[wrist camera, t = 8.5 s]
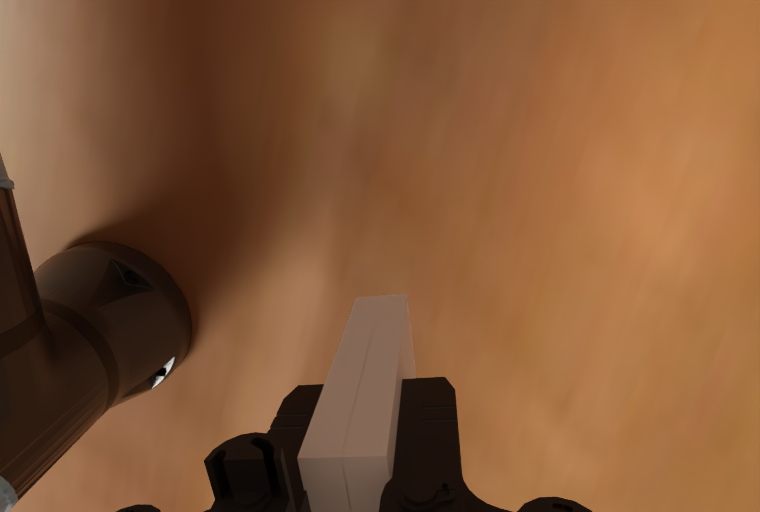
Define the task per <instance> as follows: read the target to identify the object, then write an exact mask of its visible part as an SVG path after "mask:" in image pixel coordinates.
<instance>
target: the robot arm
mask: <svg viewBox="0 0 760 512" xmlns="http://www.w3.org/2000/svg"><path fill="white" fill-rule="evenodd" d="M12 189H14V183H13V181H12V180H10V179H9V178H8V175H7V172H6V169H5V166H4V163H3V160H2V157H1V154H0V512H8V511H10V510H11V509H12V508H13V506H14V505H15V504H16V503H17V502H18V501H19V499H20V498H21V497H22V496H23V495H24V494H25V493H26V492H27V491H28V490H29V489H30V488H31V487H32V486H33V485H34V484H35V483H36V482H37V481H38V480H39V479H40V478H41V477H42V476H43V475H44V474H45V473H46V472H47V471H48V470H49V469H50V468H51V467H52V466H53V465H54V464H55V463H56V462H57V461H58V460H59V459H60V458H61V457H62V456H63V455H64V454H65V453H66V452H67V451H68V450H69V449H70V448H71V447H72V445H73V444H74V443H75V442H76V441H77V440H78V439H79V438H80V437H81V436H82V435H83V434H84V433H85V432H86V431H87V430H88V429H89V428H90V427H91V426H92V425H93V424H94V423H95V422H96V421H97V420H98V419H99V418H100V417H101V416H102V415H103V414H104V413H105V412H106V411H107V410H108V409H110V408H112V407H114V406H116V405H118V404H120V403H123V402H125V401H127V400H129V399H131V398H134V397H136V396H138V395H140V394H142V393H144V392H147V391H149V390H151V389H153V388H154V387H156V386H157V385H159V384H160V383H162V382H163V381H164V380H165V379H166V378H167V377H168V376H169V375H170V374H171V373H172V372H173V371H174V370H175V369H176V368H177V367H178V365H179V364H180V363H181V362H182V360H183V359H184V357H185V355H186V353H187V351H188V348H189V345H190V340H191V318H190V314H189V310H188V307H187V304H186V301H185V299H184V297H183V295H182V293H181V291H180V290H179V288H178V286H177V285H176V284H175V282H174V281H173V280H172V278H171V277H170V276H169V275H168V274H167V273H166V272H165V271H164V270H163V269H162V268H161V267H160V266H159V265H158V264H156V263H155V262H154V261H152V260H151V259H150V258H148V257H147V256H145V255H143V254H141V253H140V252H138V251H135V250H133V249H131V248H128V247H125V246H122V245H119V244H114V243H108V242H90V243H84V244H80V245H77V246H74V247H72V248H70V249H67V250H65V251H63V252H61V253H58V254H56V255H54V256H52V257H51V258H49V259H48V260H46V261H45V262H44V263H43V264H41V265H40V266H39V267H38V268H37V269H36V271H35V272H34V273H33V270H32V266H31V262H30V258H29V254H28V251H27V247H26V243H25V239H24V235H23V232H22V228H21V224H20V220H19V217H18V213H17V209H16V204H15V200H14V196H13V192H12ZM204 463H205V466H206V470H207V473H208V477H209V480H210V483H211V487H212V490H213V494H214V497H215V501H214V503H213V505H212V507H211V509H209V510H206V511H204V512H511V511H508V510H504V509H500V508H497V507H495V506H492V505H489V504H487V503H485V502H484V501H482V500H481V499H479V498H477V497H476V496H475V495H474V494H473V493H472V492H471V491H470V490H469V489H468V487H467V485H466V484H465V482H464V480H463V476H462V467H461V455H460V442H459V430H458V419H457V407H456V395H455V389H454V388H453V387H452V385H451V384H450V383H449V381H448V380H447V379H446V378H445V377H433V378H416V370H415V361H414V353H413V344H412V335H411V326H410V318H409V309H408V300H407V294H396V295H383V296H369V297H356V300H355V302H354V305H353V308H352V310H351V313H350V316H349V319H348V321H347V324H346V327H345V329H344V332H343V335H342V338H341V340H340V343H339V346H338V348H337V351H336V354H335V357H334V359H333V362H332V365H331V368H330V370H329V373H328V376H327V378H326V381H325V384H319V385H298V386H297V387H296V388H295V389H294V390H293V391H292V392H291V393H290V394H289V395H287V396H286V397H285V398H284V399H283V402H282V404H281V406H280V408H279V410H278V412H277V416H276V417H275V418H274V420H273V422H272V424H271V426H270V430H269V431H268V433H267V434H266V433H257V432H255V433H249V434H243V435H239V436H237V437H234V438H232V439H229V440H227V441H225V442H224V443H222V444H221V445H219V446H218V447H216V448H215V449H214V450H213V451H212V452H211V453H210V454H209V455H208V456H207V458H206V459H205V460H204ZM116 512H161V511H160V510H159V509H157V508H156V507H154V506H152V505H134V506H130V507H127V508H123V509H120V510H118V511H116ZM517 512H592V511H591V510H589V509H587V508H586V507H584V506H582V505H580V504H579V503H577V502H575V501H572V500H568V499H563V498H559V497H540V498H537V499H534V500H532V501H530V502H527V503H525V504H524V505H523V506H522V507H521V508H520V509H519V510H518V511H517Z"/></svg>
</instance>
